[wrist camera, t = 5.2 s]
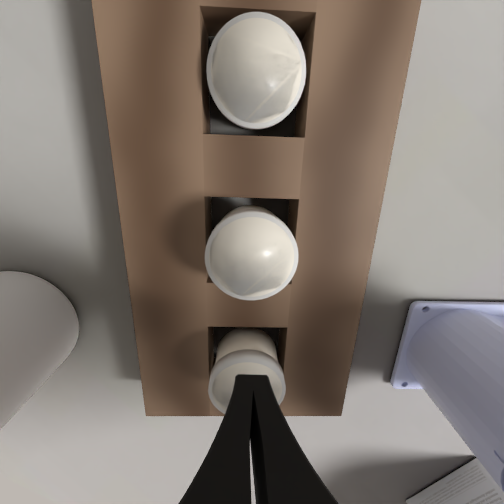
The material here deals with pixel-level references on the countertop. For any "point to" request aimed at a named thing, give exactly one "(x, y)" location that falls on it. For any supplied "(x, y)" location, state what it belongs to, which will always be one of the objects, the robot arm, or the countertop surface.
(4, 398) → the pill bottle
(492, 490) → the supplement box
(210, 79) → the outer knob
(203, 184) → the knob board
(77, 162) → the countertop surface
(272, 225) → the middle knob
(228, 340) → the outer knob
